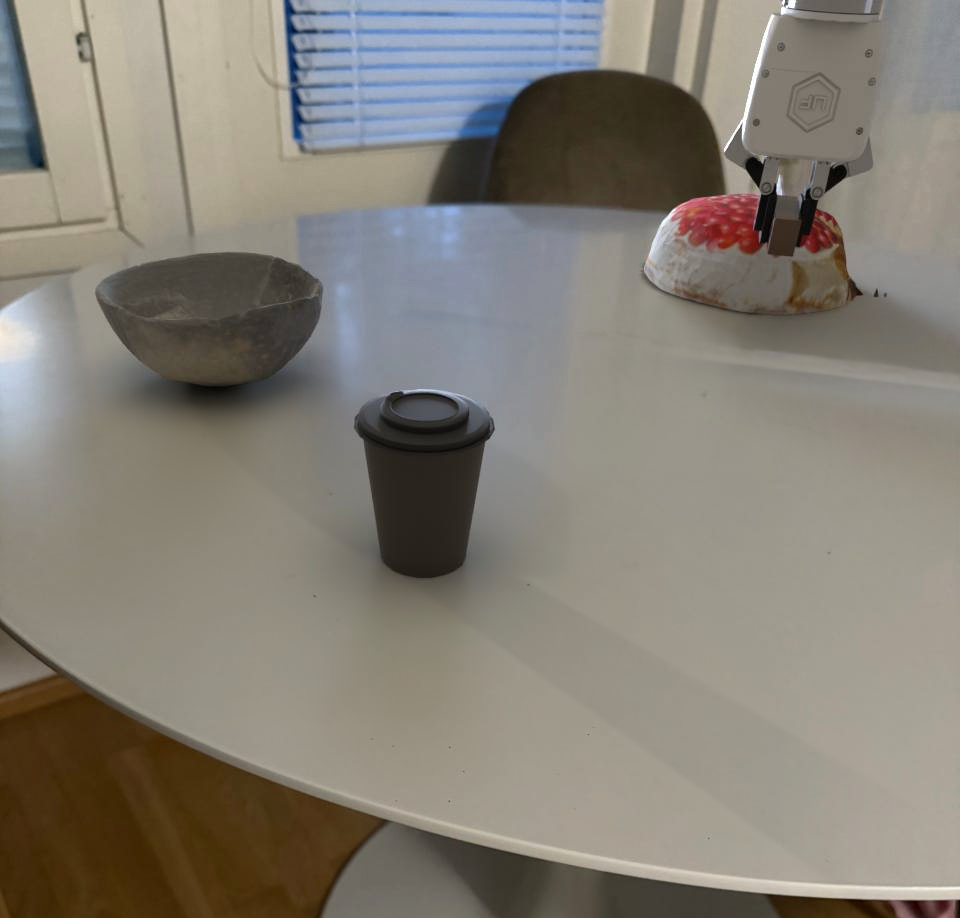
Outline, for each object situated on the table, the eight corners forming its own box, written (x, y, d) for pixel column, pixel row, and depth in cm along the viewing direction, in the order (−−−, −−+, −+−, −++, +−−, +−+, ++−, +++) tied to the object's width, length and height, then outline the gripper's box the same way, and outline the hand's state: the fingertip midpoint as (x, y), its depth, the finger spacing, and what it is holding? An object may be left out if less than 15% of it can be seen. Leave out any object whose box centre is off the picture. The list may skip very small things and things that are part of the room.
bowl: (206, 322, 91) (195, 233, 86) (365, 359, 85) (363, 267, 80) (64, 385, 78) (41, 285, 73) (240, 435, 72) (228, 330, 67)
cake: (907, 328, 98) (939, 225, 92) (682, 331, 95) (700, 225, 89) (810, 261, 116) (832, 172, 110) (617, 262, 113) (629, 169, 106)
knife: (792, 257, 83) (801, 220, 81) (767, 254, 83) (775, 218, 81) (785, 202, 97) (793, 170, 95) (763, 200, 97) (770, 168, 95)
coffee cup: (371, 516, 63) (367, 371, 57) (492, 526, 63) (501, 381, 57) (346, 583, 57) (338, 428, 51) (481, 595, 57) (489, 440, 51)
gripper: (730, -8, 73) (687, 243, 84) (948, 6, 71) (875, 262, 82) (730, -13, 79) (691, 222, 90) (932, 0, 77) (866, 240, 88)
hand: (779, 239), depth 86 cm, fingers closed on knife, 2 cm apart
